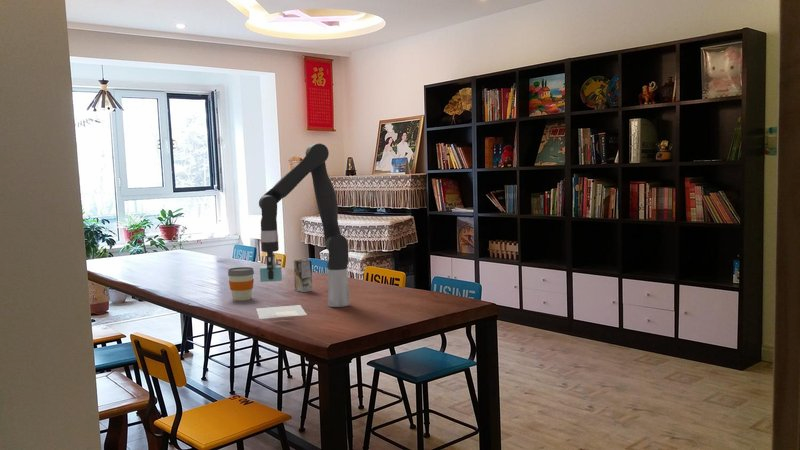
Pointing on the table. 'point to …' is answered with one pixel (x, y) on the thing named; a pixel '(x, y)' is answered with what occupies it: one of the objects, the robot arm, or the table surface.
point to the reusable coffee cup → (241, 282)
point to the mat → (280, 311)
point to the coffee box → (303, 275)
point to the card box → (276, 274)
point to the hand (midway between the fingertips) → (271, 278)
